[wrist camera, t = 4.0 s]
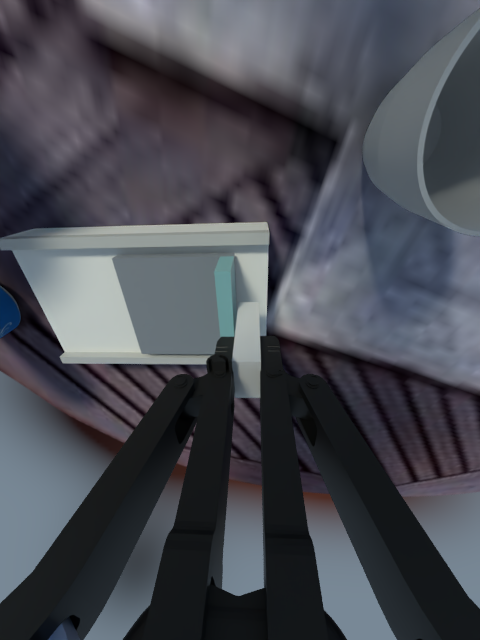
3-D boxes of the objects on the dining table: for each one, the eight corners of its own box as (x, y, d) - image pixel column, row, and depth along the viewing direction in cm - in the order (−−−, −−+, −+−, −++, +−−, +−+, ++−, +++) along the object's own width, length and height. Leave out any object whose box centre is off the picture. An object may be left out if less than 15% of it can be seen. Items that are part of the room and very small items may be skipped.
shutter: (116, 255, 19) (88, 273, 16) (234, 252, 18) (230, 271, 15) (144, 348, 23) (127, 377, 20) (239, 348, 23) (236, 378, 20)
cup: (490, 130, 16) (744, 92, 8) (382, 228, 20) (478, 273, 11) (424, 17, 14) (691, -217, 5) (315, 151, 17) (372, 136, 9)
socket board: (34, 228, 21) (-5, 239, 18) (267, 222, 20) (269, 232, 17) (85, 340, 28) (62, 363, 24) (264, 340, 26) (265, 364, 23)
